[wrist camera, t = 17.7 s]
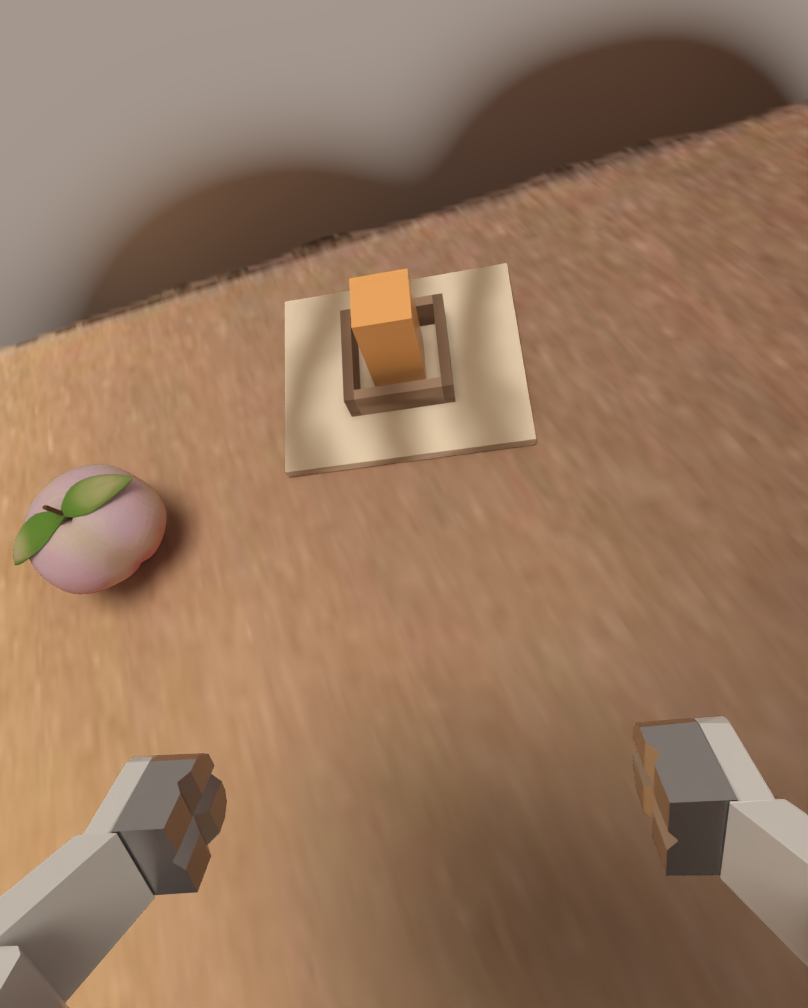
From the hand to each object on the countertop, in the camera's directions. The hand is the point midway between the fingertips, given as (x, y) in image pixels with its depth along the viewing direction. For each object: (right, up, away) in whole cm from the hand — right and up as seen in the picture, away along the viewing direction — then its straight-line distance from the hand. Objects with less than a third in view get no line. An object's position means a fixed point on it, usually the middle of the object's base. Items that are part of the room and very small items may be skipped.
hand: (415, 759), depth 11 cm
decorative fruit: (-21, +2, +34) cm, 40 cm away
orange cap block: (-1, +16, +34) cm, 37 cm away
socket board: (0, +16, +35) cm, 38 cm away
